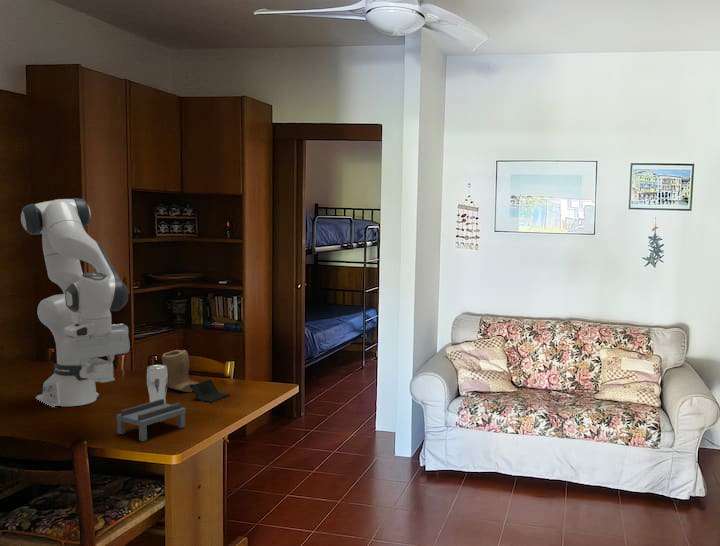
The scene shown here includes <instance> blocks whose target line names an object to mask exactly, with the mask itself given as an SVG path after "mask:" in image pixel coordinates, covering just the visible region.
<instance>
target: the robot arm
mask: <svg viewBox="0 0 720 546" xmlns="http://www.w3.org/2000/svg"><path fill="white" fill-rule="evenodd" d="M91 212H92V211H91V208H90V207H89V204H88V202H87V201H86V200H85V199H83V198H79V197H78V198H77V197H73V198H63V199H62V198H58V199H53V200H48V201H43V202H38V203H35V204H34V203H30V204H27V205H25V206H24V207H23V208H22V210H21V213H20V223H21V225H22V228H23V229H24V230H25V232H26V233H28V234H29V235H32V236H33V235H34V236H35V235H38V236H39V235H40V234H41V235H42V236H41V237H42V238H41V240H42V241H41V243H42V251H43V257H44V262H45V267H46V271H47V277H48V279H49V280H50V281H51V282H52V283H54V284H56V285H57V286H58V287H59V288H60V289H61V290H62V292H63V293H60V294H54V295H51V296H49V297H47V298H46V297H45V298H44V299H42V300H40V302H39V303H38V306H37V311H36V312H37V317H38V319H39V321H40V322H41V324H43V325H44V326H45V327H47V328H48V329H49V330H50V332H51V333H52V334H51V335H52V336H53V337H54V339H53V340H54V342H55V349H56V363H53V364H52V365H53V366H52V368H54V371H53V373H52V375H51V376H49V377H48V379H46V380H45V381H44V382H43V384H42V385H43V386H42V393H41V394H38V395H36V396H35V400H36V399H37V400H36V401H38V400H39V401H38V402H40V401H41V403H42V402H43V403H42V404H44V403H45V404H44V405H46V404H47V405H46V406H48V405H49V406H48V407H50V406H51V407H50V408H56V407H55V406H61V407H76V406H84V405H89V404H91V403H95V402H96V401H97V400H98V399H97V398H98V397H99V395H100V393H99V392H97V387H96V381H93V380H90V379H88V378H85V377H82V375H81V373H82V367H83V370H84V374H88V373H91V371H90V370H91V368H90V367H87V365H86V364H85V363H87V360H88V359H94V358H103V357H106V358H108V359H107V361H109V362H112V363H113V361H114V360H115V355H123V354H127V353H129V351H130V348H131V345H130V338H129V332H130V331H129V327H128V325H126V324H124V322H123V323H114V324H112V312H119V311H121V310H122V309H123V308H124V307H125V306H126V304H127V303H128V302H129V292H128V291H129V290H128V288H127V286H126V284H125V283H124V282H123V280H122V279H121V278H120V277H119V274H118V273H117V272H116V269H115V267H114V266H113V265H112V264H113V263H111V260H110V259H109V257H108V254H107V253H106V252H105V250H104V248H103V246H102V245H101V244H100V242H99V241H97V240H95V239H93V238H92V237H91V236H90V235H89V234H88V233H87V232H86V230H85V228H87V226H88V225H89V224H90V222H91V217H92V214H91ZM81 261H82V262H86V263H88V264H90V265H91V266H93V268H94V269H95V271H96V272H95V271H91V272H86V273H84V272H83V270H82V269H83V268H82V264H81Z"/></svg>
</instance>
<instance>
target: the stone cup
mask: <svg viewBox="0 0 720 546" xmlns="http://www.w3.org/2000/svg"><path fill="white" fill-rule="evenodd" d="M161 362H162V365H166V366H167V372H168V385H167V388H169V389H172V390H175V391H180V392H187V393H192V391H193V389H192V387H191V386H192V385H195V384H198V383H199V382H198V381H195V380H192V379H191V378H189V371H190V370H189V369H190V357H189V353H188V351H187V350H185V349H182V350H181V349H175V350H171V351H169V352H165V353H163V354H162V356H161ZM193 392H194V391H193Z"/></svg>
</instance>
